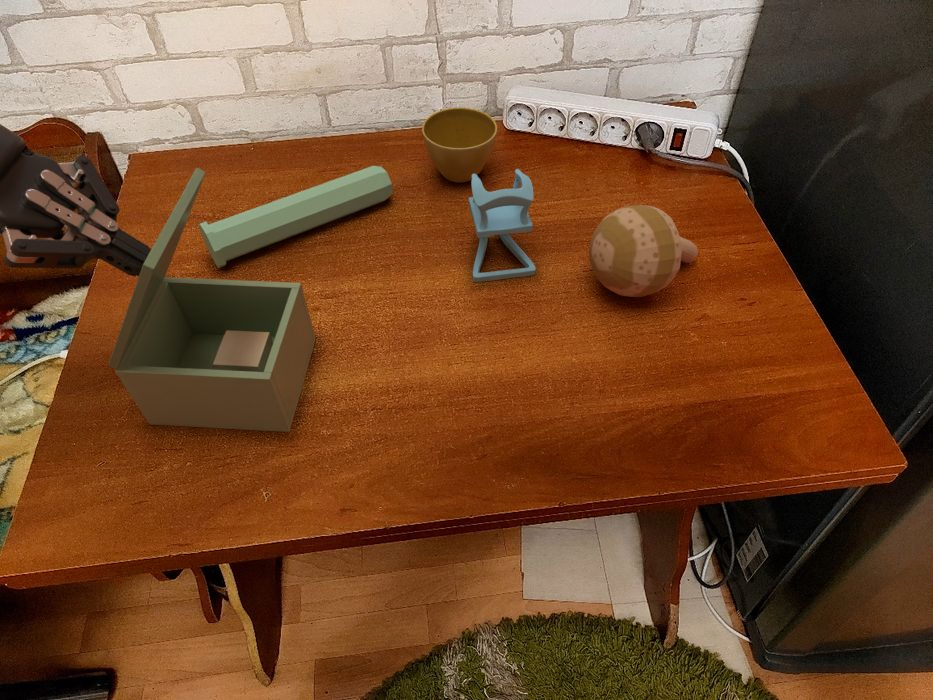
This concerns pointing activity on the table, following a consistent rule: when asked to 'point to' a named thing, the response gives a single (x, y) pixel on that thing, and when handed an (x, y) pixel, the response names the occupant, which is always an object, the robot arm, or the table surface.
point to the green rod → (295, 214)
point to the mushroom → (638, 250)
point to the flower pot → (459, 141)
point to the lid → (155, 268)
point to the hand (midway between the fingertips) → (149, 266)
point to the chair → (502, 223)
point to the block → (243, 351)
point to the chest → (196, 345)
